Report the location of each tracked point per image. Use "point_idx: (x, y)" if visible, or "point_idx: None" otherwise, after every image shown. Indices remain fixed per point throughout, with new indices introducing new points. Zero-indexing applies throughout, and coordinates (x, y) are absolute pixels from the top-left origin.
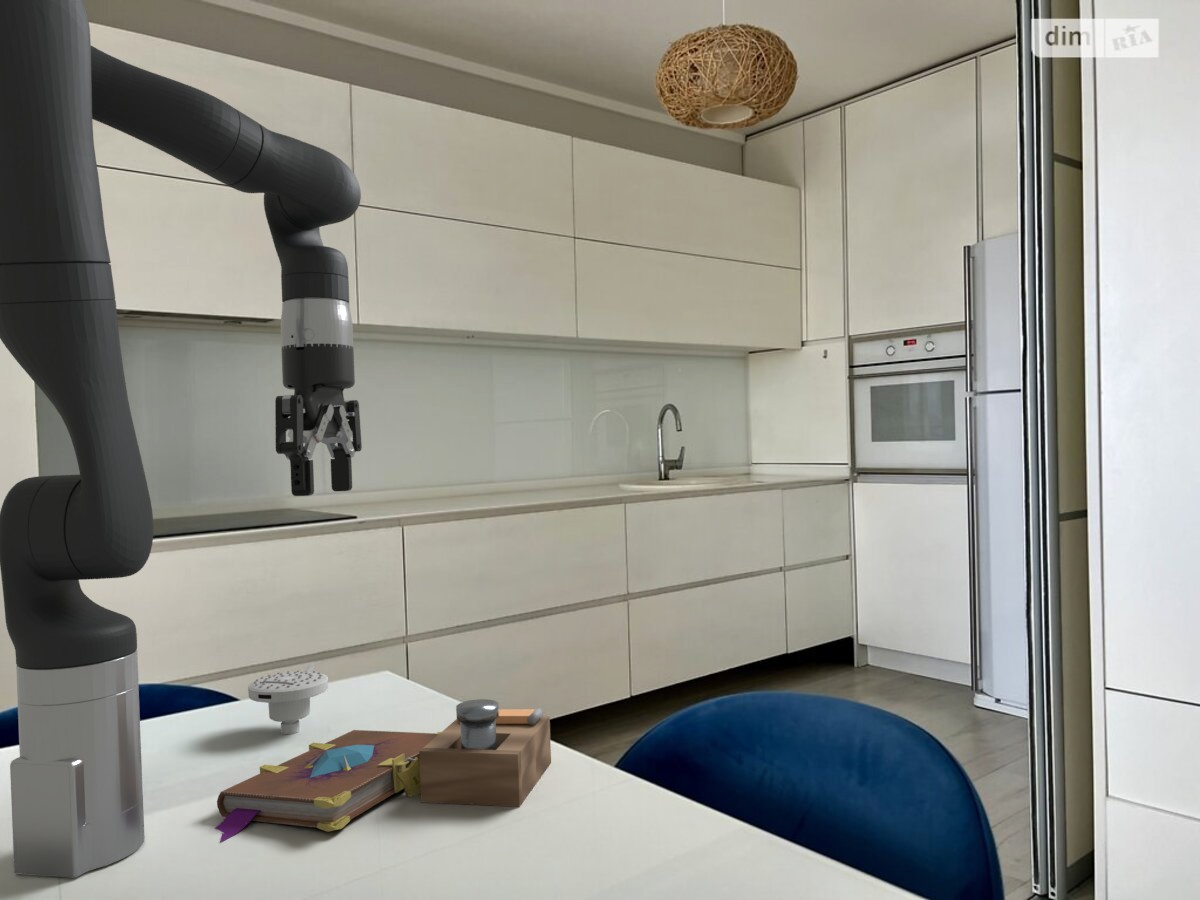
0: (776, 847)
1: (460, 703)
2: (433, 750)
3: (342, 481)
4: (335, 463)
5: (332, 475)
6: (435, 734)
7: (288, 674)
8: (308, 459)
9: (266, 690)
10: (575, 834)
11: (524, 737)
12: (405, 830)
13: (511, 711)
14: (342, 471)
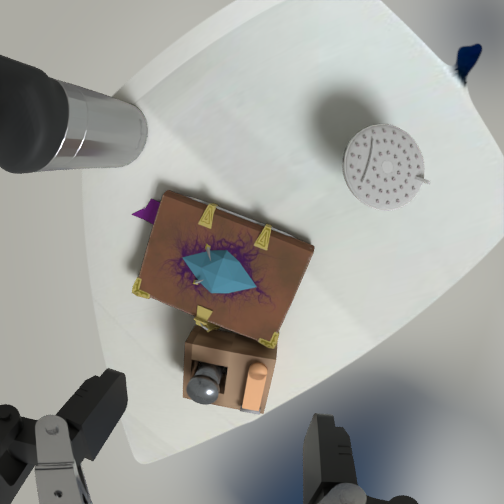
0: (161, 454)
1: (206, 382)
2: (186, 351)
3: (308, 449)
4: (316, 478)
5: (316, 443)
6: (275, 332)
7: (404, 161)
8: (85, 454)
9: (347, 155)
10: (160, 399)
11: (215, 401)
12: (155, 322)
13: (256, 397)
14: (308, 471)
